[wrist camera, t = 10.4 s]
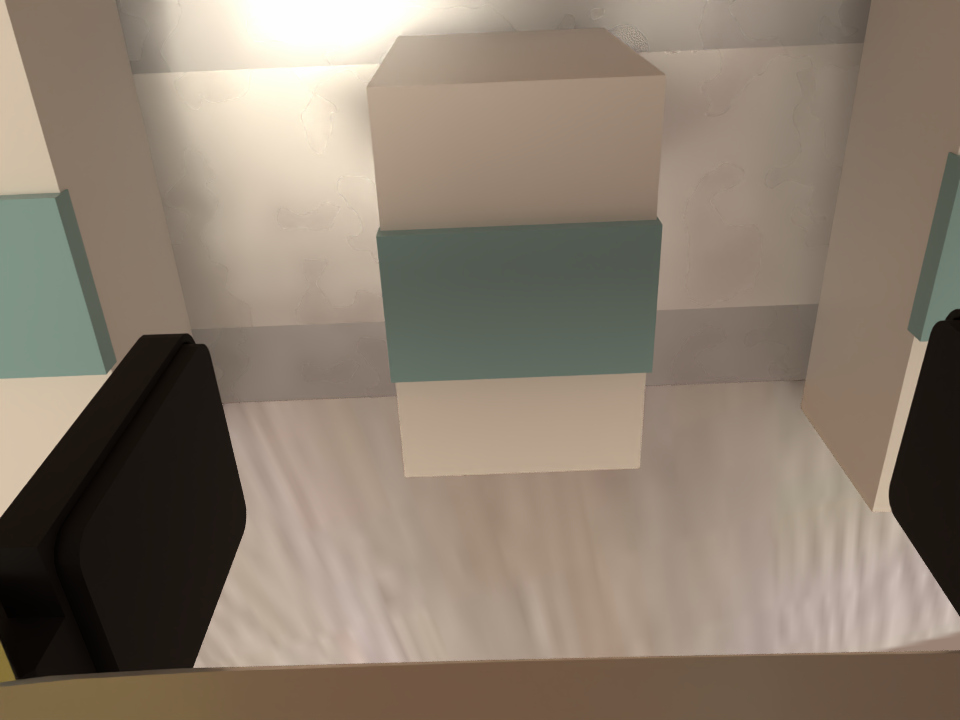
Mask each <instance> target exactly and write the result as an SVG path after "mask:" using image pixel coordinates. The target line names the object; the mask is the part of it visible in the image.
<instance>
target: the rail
mask: <svg viewBox="0 0 960 720" xmlns="http://www.w3.org/2000/svg"><path fill="white" fill-rule="evenodd" d="M115 1H116V5H117V9H118V14H119V18H120V22H121V27H122V31H123V35H124V40H125V44H126V48H127V53H128V57H129V62H130V66H131V70H132V75H133V79H134V83H135V88H136V92H137V96H138V101H139V105H140V109H141V114H142V118H143V122H144V127H145V131H146V136H147V140H148V144H149V149H150V153H151V157H152V162H153V166H154V170H155V175H156V179H157V183H158V188H159V192H160V196H161V201H162V205H163V210H164V214H165V218H166V223H167V227H168V231H169V236H170V240H171V244H172V249H173V253H174V257H175V262H176V266H177V270H178V275H179V279H180V284H181V288H182V292H183V297H184V301H185V305H186V310H187V314H188V318H189V323H190V327H191V331H192V336H193V339H194V341H195V343H196V344H205V345H206V346H207V347H208V349H209V352H210V355H211V359H212V363H213V367H214V372H215V376H216V380H217V384H218V389H219V393H220V397H221V401H222V403H237V402H262V401H287V400H312V399H337V398H362V397H387V396H397V391H396V383H391V377H390V367H389V357H388V348H387V338H386V328H385V318H384V309H383V299H382V289H381V279H380V270H379V260H378V250H377V240H376V235H377V232H378V228H379V227H380V221H379V211H378V201H377V191H376V181H375V171H374V161H373V150H372V140H371V130H370V120H369V110H368V100H367V90H366V87H367V86H368V84H369V82H370V81H371V79H372V77H373V76H374V74H375V73H376V71H377V69H378V68H379V66H380V65H381V63H382V61H383V60H384V58H385V56H386V55H387V53H388V52H389V50H390V48H391V47H392V45H393V43H394V42H395V40H396V39H397V37H398V36H419V35H443V34H467V33H491V32H515V31H539V30H563V29H587V28H605V29H606V30H608V31H609V32H610V33H612V34H613V35H614V36H616V37H617V38H618V39H619V40H621V41H622V42H623V43H625V44H626V45H627V46H629V47H630V48H631V49H633V50H634V51H635V52H637V53H638V54H639V55H640V56H642V57H643V58H644V59H646V60H647V61H648V62H650V63H651V64H652V65H654V66H655V67H656V68H658V69H659V70H660V71H661V72H663V73H664V74H665V75H666V87H665V102H664V116H663V131H662V146H661V161H660V176H659V190H658V205H657V217H658V218H659V220H660V222H661V223H662V225H663V229H662V243H661V257H660V271H659V285H658V299H657V313H656V327H655V340H654V354H653V368H652V373H646V382H645V386H661V385H686V384H711V383H736V382H761V381H785V380H806V375H807V369H808V363H809V357H810V352H811V346H812V340H813V334H814V329H815V323H816V317H817V311H818V305H819V300H820V294H821V288H822V282H823V277H824V271H825V265H826V259H827V254H828V248H829V242H830V236H831V230H832V225H833V219H834V213H835V207H836V202H837V196H838V190H839V184H840V179H841V173H842V167H843V161H844V155H845V150H846V144H847V138H848V132H849V127H850V121H851V115H852V109H853V103H854V98H855V92H856V86H857V80H858V75H859V69H860V63H861V57H862V52H863V46H864V40H865V34H866V28H867V23H868V17H869V11H870V5H871V0H115Z"/></svg>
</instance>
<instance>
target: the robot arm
mask: <svg viewBox="0 0 960 720" xmlns="http://www.w3.org/2000/svg"><path fill="white" fill-rule="evenodd" d="M889 504H890V507H891V511H892V513H893V515H894V517H895V518H896V520H897V521H898V523H899V524H900V526H901V527H902V529H903V530H904V532H905V533H906V535H907V536H908V538H909V540H910V541H911V543H912V544H913V546H914V547H915V549H916V550H917V552H918V553H919V555H920V556H921V558H922V559H923V561H924V562H925V564H926V566H927V567H928V569H929V570H930V572H931V573H932V575H933V576H934V578H935V579H936V581H937V582H938V584H939V585H940V587H941V588H942V590H943V591H944V593H945V595H946V596H947V598H948V599H949V601H950V602H951V604H952V605H953V607H954V608H955V610H956V611H957V613H958V614H959V616H960V309H955V310H953V311H951V312H950V313H949V315H948V316H947V317H946V319H945V320H942V321H938V322H937V323H936V324H935V325H934V326H933V328H932V331H931V333H930V337H929V340H928V344H927V348H926V351H925V355H924V359H923V363H922V366H921V370H920V374H919V377H918V381H917V385H916V389H915V392H914V396H913V400H912V403H911V407H910V411H909V415H908V418H907V422H906V426H905V429H904V433H903V437H902V441H901V444H900V448H899V452H898V455H897V459H896V463H895V467H894V470H893V474H892V478H891V481H890V485H889ZM245 525H246V505H245V500H244V495H243V491H242V487H241V483H240V478H239V474H238V470H237V465H236V461H235V457H234V453H233V448H232V444H231V440H230V436H229V431H228V427H227V423H226V419H225V414H224V410H223V406H222V401H221V397H220V393H219V389H218V384H217V380H216V376H215V372H214V367H213V363H212V359H211V355H210V352H209V349H208V347H207V346H206V345H205V344H196V343H195V341H194V339H193V338H192V336H191V335H189V334H188V333H182V334H150V335H142V336H141V337H140V338H139V339H138V340H137V341H136V343H135V344H134V345H133V347H132V348H131V349H130V350H129V352H128V353H127V354H126V356H125V357H124V358H123V360H122V361H121V362H120V363H119V365H118V366H117V367H116V369H115V370H114V371H113V372H112V374H111V375H110V376H109V378H108V379H107V380H106V382H105V383H104V384H103V385H102V387H101V388H100V389H99V391H98V392H97V393H96V394H95V396H94V397H93V398H92V400H91V401H90V402H89V403H88V405H87V406H86V407H85V409H84V410H83V411H82V413H81V414H80V415H79V416H78V418H77V419H76V420H75V422H74V423H73V424H72V425H71V427H70V428H69V429H68V431H67V432H66V433H65V435H64V436H63V437H62V438H61V440H60V441H59V442H58V444H57V445H56V446H55V447H54V449H53V450H52V451H51V453H50V454H49V455H48V456H47V458H46V459H45V460H44V462H43V463H42V464H41V466H40V467H39V468H38V469H37V471H36V472H35V473H34V475H33V476H32V477H31V478H30V480H29V481H28V482H27V484H26V485H25V486H24V488H23V489H22V490H21V491H20V493H19V494H18V495H17V497H16V498H15V499H14V500H13V502H12V503H11V504H10V506H9V507H8V508H7V509H6V511H5V512H4V513H3V515H2V516H1V517H0V720H960V650H955V651H895V652H841V653H790V654H742V655H694V656H648V657H604V658H560V659H516V660H478V661H439V662H401V663H364V664H327V665H291V666H254V667H217V668H193V666H194V663H195V661H196V658H197V656H198V653H199V650H200V648H201V645H202V642H203V640H204V637H205V634H206V632H207V629H208V626H209V624H210V621H211V618H212V616H213V613H214V610H215V608H216V605H217V602H218V600H219V597H220V594H221V592H222V589H223V586H224V584H225V581H226V578H227V576H228V573H229V570H230V568H231V565H232V562H233V560H234V557H235V554H236V552H237V549H238V546H239V544H240V541H241V538H242V536H243V533H244V530H245Z"/></svg>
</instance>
